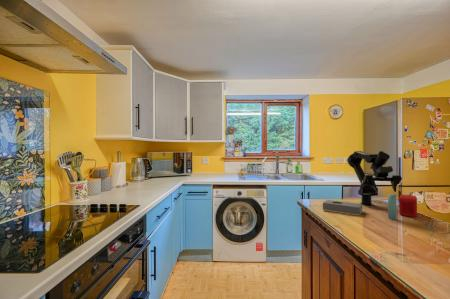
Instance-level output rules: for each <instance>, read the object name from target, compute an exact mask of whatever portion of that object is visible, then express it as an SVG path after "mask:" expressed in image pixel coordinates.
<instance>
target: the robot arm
mask: <svg viewBox="0 0 450 299" xmlns="http://www.w3.org/2000/svg"><path fill="white" fill-rule="evenodd" d="M389 159H390V154H388V153H386V152H384V151H383V150H382V151H379V152H378V153H369V152H368V153H367V152H364V151H361V150H360V151H359V150H357V151H356V150H355V151H354V152H352V153H351V154H350V155H349V156H348V157H347V159H346V162H347V164H348V165H349V166H350V168H352V169H353V170H354V172H355V174H356V176H357V179H358V181H359V183H360V185H359V189H358V191H357V194H358V195H359V196H361V202H360V203H359V204H362V206H373V203H372V196H374V197H375V196H376V192H378V187H377V185H376V182H390V186H391V187H392V190H393V191H394V193H396V192H397V186H398V185H400V183H401V182H402V180H403V178H402V176H401V175H399V174H397V175H396V174H394V175H392V176H391V177H389V173H393V171H394V169H393V166H390V165H388V166H385V165H386V164H387V163H388V161H389ZM362 160H364V161H365V162H366V163H367V164H371V165H370V170H372V172H373V174H366V173H365V172H364V169H363V167H362Z"/></svg>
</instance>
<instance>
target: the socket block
mask: <svg viewBox="0 0 450 299" xmlns="http://www.w3.org/2000/svg"><path fill="white" fill-rule="evenodd" d="M322 210H323V211H326V210H327V212H328V211H329V212H334V213H340V214H341V213H342V214H348V215H354V216H361V214H362V213H363V204H360V203H358V202H357V203H356V202H355V203H354V202H347V201H341V200H339V201H338V200H331V199H326V200H325V201H323V202H322Z"/></svg>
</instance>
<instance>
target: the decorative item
mask: <svg viewBox="0 0 450 299" xmlns="http://www.w3.org/2000/svg"><path fill="white" fill-rule="evenodd" d="M397 208H399V209H398V213H399V215H400V216H405V217H413V218H415V217H417V216H418V198H417V196H415V195H411V194H410V195H409V194H400V195H399V198H398V202H397Z"/></svg>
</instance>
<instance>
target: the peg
mask: <svg viewBox="0 0 450 299" xmlns="http://www.w3.org/2000/svg"><path fill="white" fill-rule="evenodd" d="M387 201H388V202H387V206H388V207H387V211H388V212H387V214H388V215H387V218H389V219H388V220H392V221H395V220H396V221H397V194H393V193H388V194H387Z"/></svg>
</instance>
